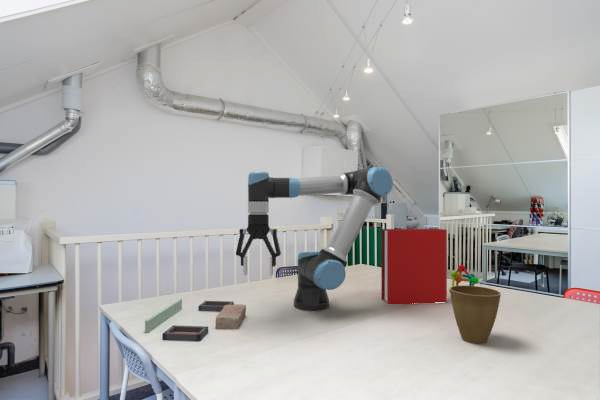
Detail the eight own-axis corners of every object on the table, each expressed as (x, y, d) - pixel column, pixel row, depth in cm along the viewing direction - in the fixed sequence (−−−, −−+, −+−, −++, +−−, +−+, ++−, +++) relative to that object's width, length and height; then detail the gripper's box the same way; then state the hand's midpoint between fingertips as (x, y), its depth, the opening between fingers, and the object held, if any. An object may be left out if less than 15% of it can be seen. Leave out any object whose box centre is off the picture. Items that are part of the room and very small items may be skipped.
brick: (238, 330, 131) (238, 316, 131) (214, 330, 132) (214, 316, 132) (246, 316, 148) (246, 304, 148) (225, 315, 148) (225, 303, 148)
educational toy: (483, 301, 171) (484, 269, 170) (454, 301, 172) (455, 269, 170) (469, 290, 187) (470, 260, 185) (443, 290, 187) (443, 260, 186)
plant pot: (498, 352, 112) (498, 298, 112) (445, 342, 120) (445, 291, 120) (502, 336, 124) (502, 288, 124) (454, 328, 132) (454, 283, 132)
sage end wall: (181, 308, 156) (181, 299, 156) (148, 332, 128) (148, 320, 128) (179, 308, 156) (179, 299, 156) (145, 332, 128) (145, 320, 128)
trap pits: (233, 306, 160) (233, 301, 160) (199, 341, 120) (199, 334, 120) (205, 305, 161) (205, 300, 161) (162, 339, 122) (162, 333, 122)
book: (387, 304, 162) (387, 230, 162) (381, 300, 170) (381, 229, 170) (448, 303, 165) (448, 230, 165) (439, 298, 173) (439, 228, 173)
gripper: (288, 213, 142) (288, 273, 142) (232, 213, 144) (232, 272, 144) (286, 214, 134) (286, 277, 134) (226, 214, 136) (226, 276, 136)
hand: (258, 274), depth 139 cm, fingers open, 9 cm apart
